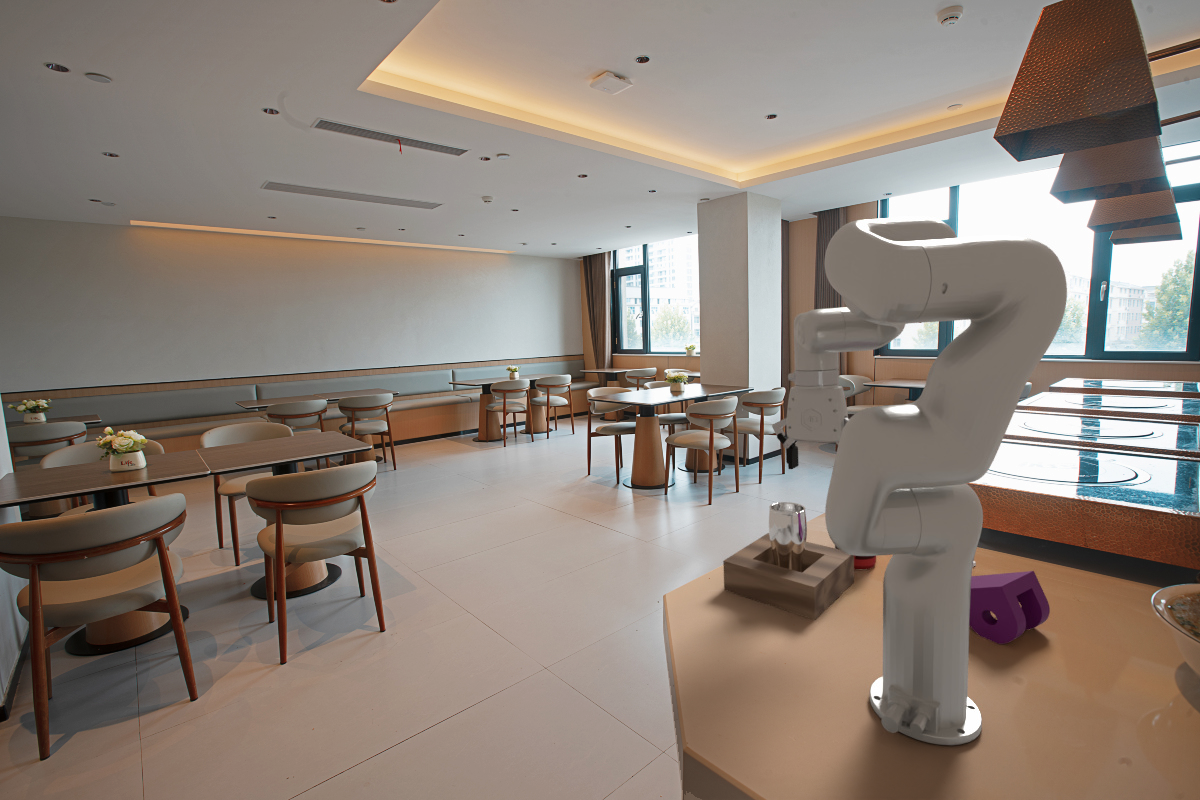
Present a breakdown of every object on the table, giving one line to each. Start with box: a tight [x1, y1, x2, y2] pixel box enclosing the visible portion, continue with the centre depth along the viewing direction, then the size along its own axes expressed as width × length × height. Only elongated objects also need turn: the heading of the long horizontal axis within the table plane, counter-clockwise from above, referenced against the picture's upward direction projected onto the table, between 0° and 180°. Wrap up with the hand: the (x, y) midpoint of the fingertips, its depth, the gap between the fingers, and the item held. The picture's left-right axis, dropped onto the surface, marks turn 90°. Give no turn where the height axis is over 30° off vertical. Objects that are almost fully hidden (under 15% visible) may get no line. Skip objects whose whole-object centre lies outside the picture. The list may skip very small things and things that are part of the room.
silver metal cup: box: [768, 501, 808, 573], centre depth 107 cm, size 7×7×15 cm
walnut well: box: [722, 532, 855, 621], centre depth 107 cm, size 18×18×6 cm
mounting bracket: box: [969, 570, 1051, 645], centre depth 93 cm, size 9×8×18 cm
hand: (818, 470), depth 103 cm, fingers open, 9 cm apart
